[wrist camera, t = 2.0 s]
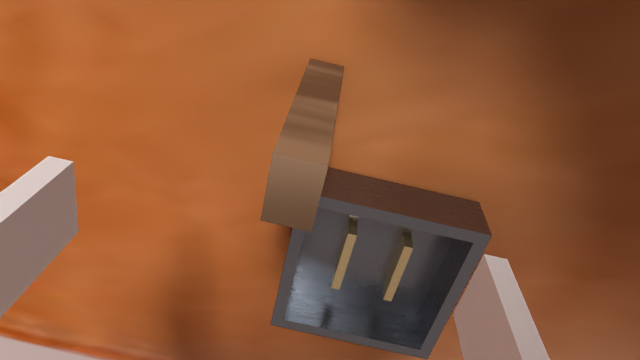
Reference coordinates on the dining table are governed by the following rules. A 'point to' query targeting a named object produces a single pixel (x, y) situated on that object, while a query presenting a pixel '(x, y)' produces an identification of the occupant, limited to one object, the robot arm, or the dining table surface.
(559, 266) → the dining table surface
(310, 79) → the curved brown wooden bar
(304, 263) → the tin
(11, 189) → the robot arm
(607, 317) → the dining table surface
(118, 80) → the dining table surface
